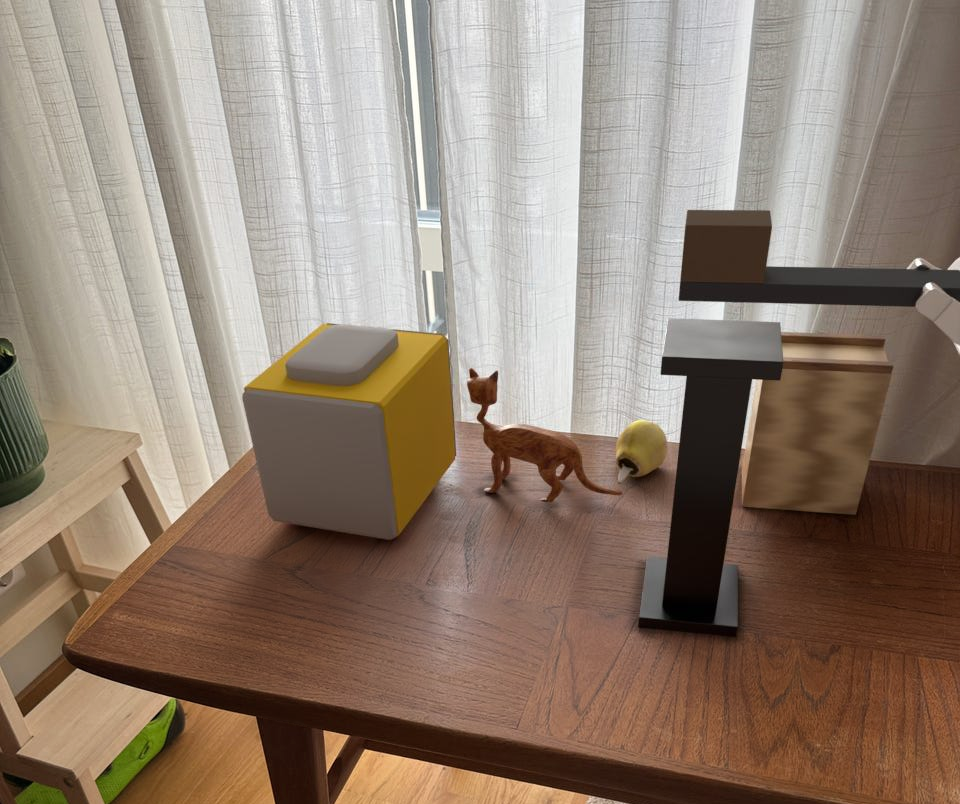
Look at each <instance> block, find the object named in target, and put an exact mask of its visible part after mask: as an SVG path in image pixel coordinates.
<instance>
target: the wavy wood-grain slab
mask: <svg viewBox="0 0 960 804" xmlns="http://www.w3.org/2000/svg"><path fill="white" fill-rule="evenodd" d="M781 338H782V350H783V362H784V363H783V369H782V374H781V380H780V381H777V380H757V379H755V384H754V390H753V398H752V403H751V410H750V415H749V416H750V417H749V422H748V423H749V424H748V427H747V428H748V429H747V435H746V442H745V448H744V455H743V460H742V466H741V507H745V508H757V509H770V510H771V509H772V510H784V511H797V512H810V513H823V514H824V513H825V514H839V515H851V516H856V515H857V512H858V509H859V505H860V504H859V503H860V500H861V496H862V492H863V489H864V485H865V482H866V481H865V480H866V477H867V474H868V469H869V466H870V461H871V457H872V453H873V450H874V446H875V442H876V438H877V434H878V430H879V426H880V423H881V419H882V415H883V410H884V407H885V403H886V399H887V395H888V391H889V387H890V383H891V379H892V377H893V374H892V373H893V370H894V363H893V361H889V360H888V356H887V353H886V350H885V347H884V346H885V345H886V344H885V343H886V335H877V334H875V335H873V334H849V333H848V334H847V333H846V334H845V333H825V332H824V333H823V332H821V333H820V332H798V331H797V332H795V331H781Z"/></svg>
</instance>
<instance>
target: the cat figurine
mask: <svg viewBox="0 0 960 804" xmlns="http://www.w3.org/2000/svg"><path fill="white" fill-rule="evenodd" d="M468 373H469V377H468V379H467V381H466V387H467V391H468V394H469V399H470V402H471V403H473V404H476V405H479V406H480V407H481V408H480V410H479V411H478V413H477V415H476V420H477V422H479V424H481V425H482V426H483V431H482V441H483V443H484V445H485V446H486V447H487V448H488V449H489V450H490V451H491V452H492V453H493V454H492V455H491V461H490V467H491V471H492V475H493V483H492V485H491V487H485V488H484V491H483V492H484V493H488V494H493V493H496V492H498V491H499V490H500V489H501V487H502V485H503V480H504V479H507V478H508V476H509V475H510V473H511V464H512V463H511V458H512V459H515V460H518V461H523V462H526V463H530V464H532V465H536V466H537V471H538V474H539V475H540V477H541V479H542V480H543V481H544V482H545V484H547V485H548V486H550V487H551V490H550V491H549V492H548V494H547V496H546V497H542V498H540V499H539V501H541V502H543V503H553V502H554V501H555V500H556V498H557V497H559V495H560V494H562V492H563V489H564V487H565V486H564V484H563V483H562V482H561V481H565V480H566V479H567V478H568V477H569V476H570V475H571V474H572V472H574V473H575V476H576V478H577V479H578V481H579V483H580V484H581V485H582V486H583V487H584V488H585V489H588V490H589V491H591V492H594V493H598V494H602V495H609V496H622V495H624V493H623V491H622V490H621V489H617V488H610V487H606V486H601V485H599V484H596V483H594V482H593V481H591V480H590V479H589V478H588V477H587V475H586V473H585V470H584V467H583V456H582V453H581V451H580V448H579V447H578V446H577V443H575V442H574V440H573V439H571V438H570V437H569V436H568V435H567V434H565V433H561V432H559V431H556V430H551V429H546V428H543V427H539V426H534V425H530V424H526V423H511V424H507V425H503V426H502V425H498V424H495V423H492V422H490V421H488V420H487V419H486V415H487V413H488V411H489V407H490V406H492V405H495V404H496V403H497V401H498V380H499V371H498V370H495V371H494V372H493V373H492V374H491V375H490V376H480V375H479V374H478V372H477V371H476V370H475V369H474V368H473V367H470V368H469V369H468ZM502 464H503V467H502ZM562 465H563V468H562V469H561V472H560V473H557V469H558V468H559V467H560V466H562Z"/></svg>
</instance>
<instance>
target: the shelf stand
mask: <svg viewBox="0 0 960 804" xmlns="http://www.w3.org/2000/svg"><path fill="white" fill-rule="evenodd" d="M781 330H782V329H781V322H780V321H759V320H758V321H756V320H755V321H753V320H731V319H730V320H729V319H728V320H727V319H726V320H725V319H705V318H703V319H702V318H699V319H698V318H675V317H673V318H672V317H669V318H667V323H666V329H665V335H664V341H663V348H662V355H661V364H660V375H661V376H675V377H686V378H685V385H684V397H683V404H682V405H683V406H682V415H681V422H680V423H681V424H680V433H679V441H678V442H679V443H678V452H677V461H676V470H675V471H676V472H675V481H674V489H673V498H672V499H673V500H672V509H671V519H670V528H669V535H668V536H669V537H668V545H667V546H668V547H667V554H666V555H667V556H666V557H665V558H664V557H655V556H654V557H653V556H647V557H646V560H645V561H646V563H645V569H644V576H643V583H642V591H641V598H640V599H641V600H640V605H639V614H638V623H637V627H638V628H643V629H655V630H663V631H674V632H684V633H695V634H705V635H713V636H714V635H715V636H724V637H733V638H734V637H735V638H736V637H737V636H738V630H739V564H734V563H725V557H726V551H727V545H728V537H729V531H730V526H731V517H732V511H733V506H734V499H735V492H736V486H737V479H738V475H739V474H738V473H739V469H740V468H739V466H740V460H741V453H742V447H743V441H744V436H745V435H744V434H745V428H746V421H747V415H748V410H749V403H750V395H751V389H752V383H753V380H756V379H757V380H777V381H780V380H781V374H782V369H783V363H784V362H783V350H782V338H781V332H782V331H781Z"/></svg>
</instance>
